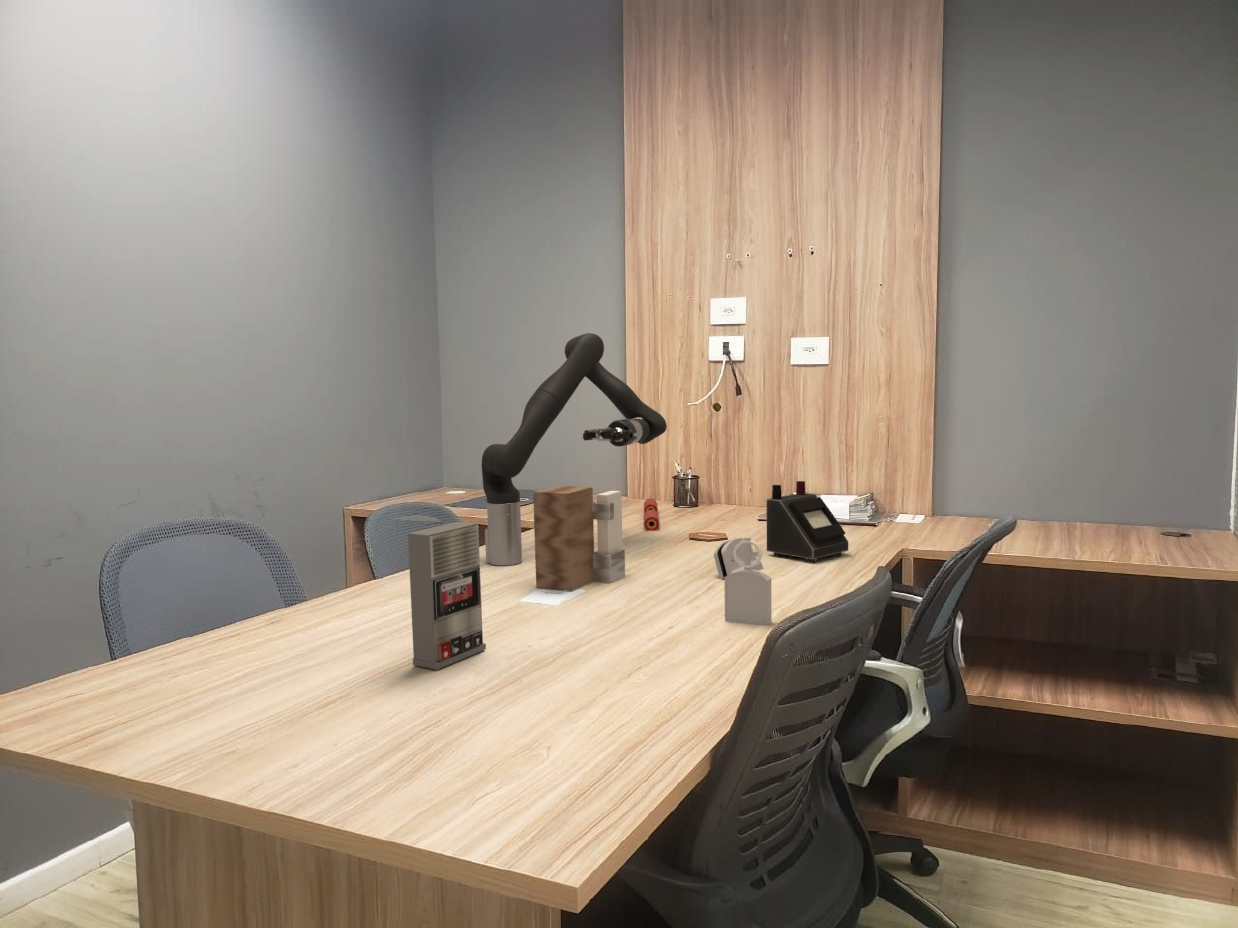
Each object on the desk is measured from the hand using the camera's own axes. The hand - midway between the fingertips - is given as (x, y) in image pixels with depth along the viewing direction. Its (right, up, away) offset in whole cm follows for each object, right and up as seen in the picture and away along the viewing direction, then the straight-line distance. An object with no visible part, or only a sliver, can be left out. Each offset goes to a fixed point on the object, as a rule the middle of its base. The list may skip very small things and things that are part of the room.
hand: (598, 436), depth 256 cm
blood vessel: (+17, -28, +72) cm, 79 cm away
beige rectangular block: (+4, -33, -15) cm, 36 cm away
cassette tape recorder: (-26, -44, -79) cm, 94 cm away
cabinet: (-4, -37, -19) cm, 42 cm away
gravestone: (+33, -41, -58) cm, 78 cm away
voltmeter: (+59, -33, +7) cm, 68 cm away
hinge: (+37, -36, -12) cm, 53 cm away
